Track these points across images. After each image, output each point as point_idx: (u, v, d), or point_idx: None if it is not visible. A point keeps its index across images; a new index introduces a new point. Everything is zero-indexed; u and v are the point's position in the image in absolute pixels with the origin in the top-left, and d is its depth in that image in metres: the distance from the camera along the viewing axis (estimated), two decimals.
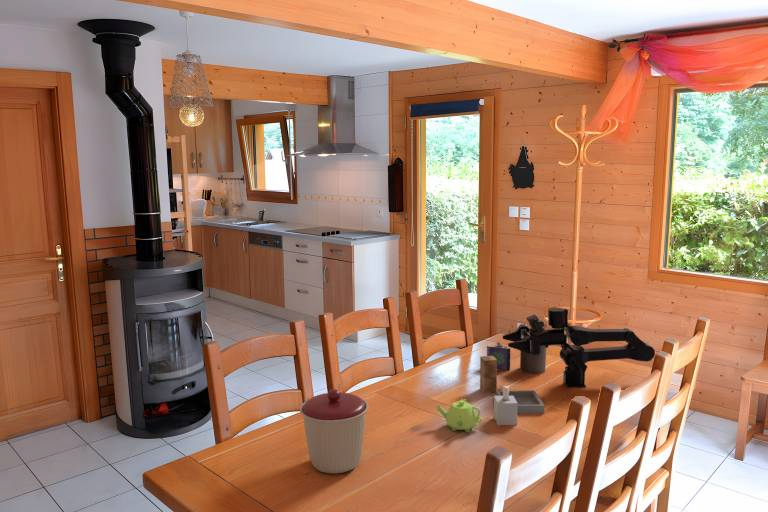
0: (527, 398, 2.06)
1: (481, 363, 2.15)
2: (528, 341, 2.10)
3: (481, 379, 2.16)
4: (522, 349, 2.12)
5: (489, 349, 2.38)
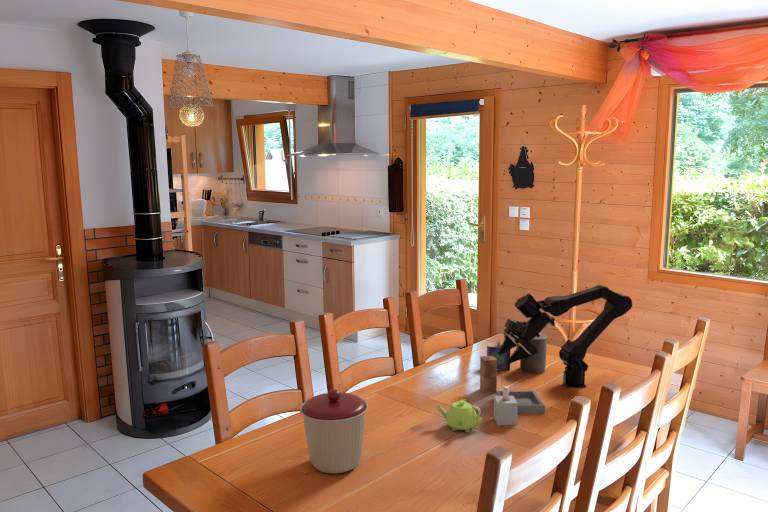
0: (527, 398, 2.06)
1: (481, 363, 2.15)
2: (521, 348, 2.07)
3: (481, 379, 2.16)
4: (522, 357, 2.09)
5: (489, 349, 2.38)
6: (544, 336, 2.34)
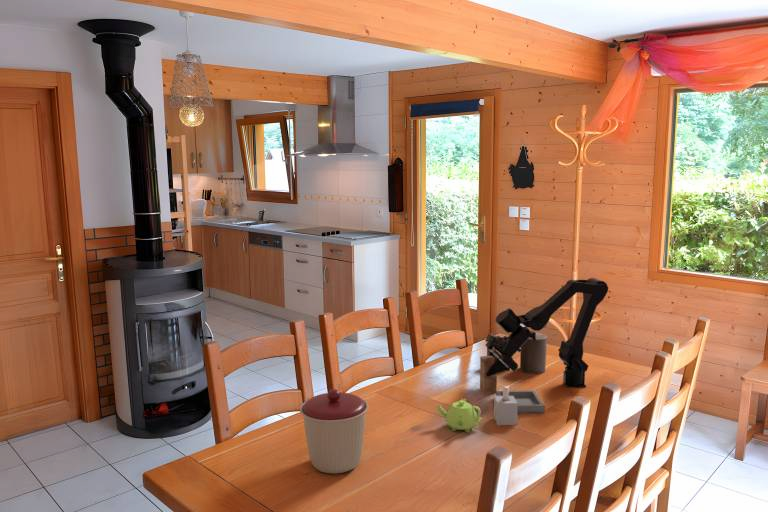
0: (527, 398, 2.06)
1: (481, 363, 2.15)
2: (499, 361, 2.09)
3: (481, 379, 2.16)
4: (500, 370, 2.11)
5: (489, 349, 2.38)
6: (544, 336, 2.34)
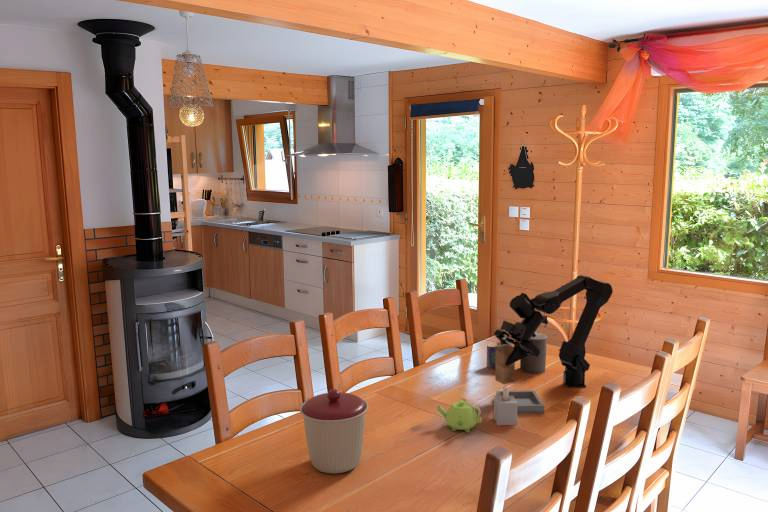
0: (527, 398, 2.06)
1: (497, 352, 2.05)
2: (520, 349, 2.01)
3: (497, 370, 2.06)
4: (519, 357, 2.03)
5: (489, 349, 2.38)
6: (544, 336, 2.34)
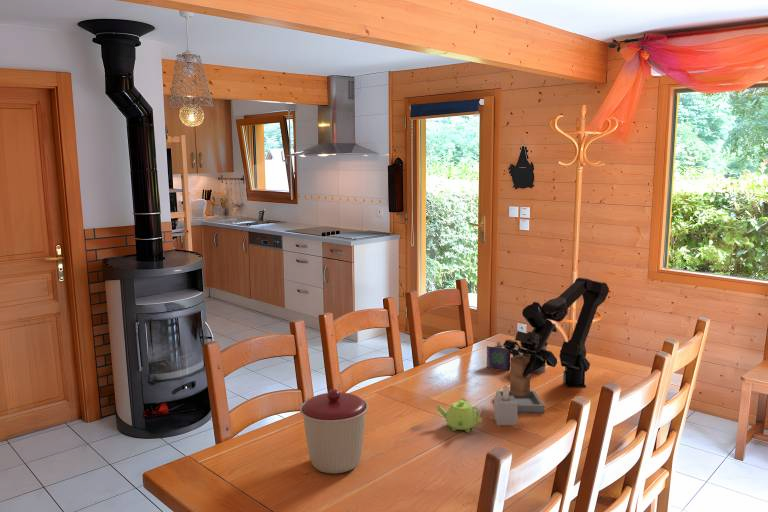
0: (527, 398, 2.06)
1: (513, 364, 2.00)
2: (537, 359, 1.97)
3: (512, 382, 2.01)
4: (536, 368, 1.99)
5: (489, 349, 2.38)
6: None
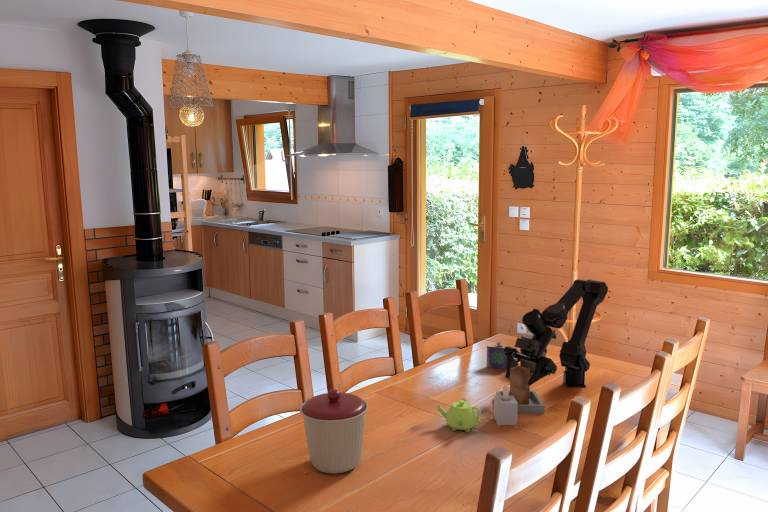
0: None
1: (513, 375, 2.00)
2: (542, 367, 1.96)
3: (512, 392, 2.01)
4: (541, 376, 1.98)
5: (489, 349, 2.38)
6: None
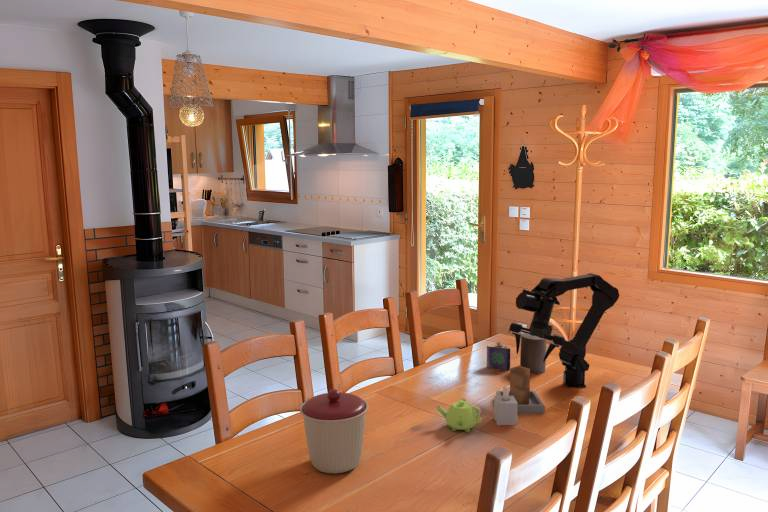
0: None
1: (513, 375, 2.00)
2: (556, 346, 2.08)
3: (512, 392, 2.01)
4: None
5: (489, 349, 2.38)
6: None
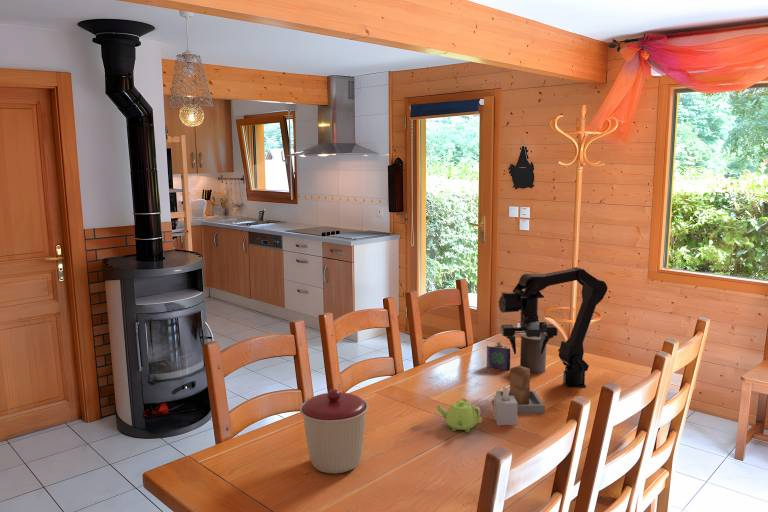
0: None
1: (513, 375, 2.00)
2: None
3: (512, 392, 2.01)
4: None
5: (489, 349, 2.38)
6: None
